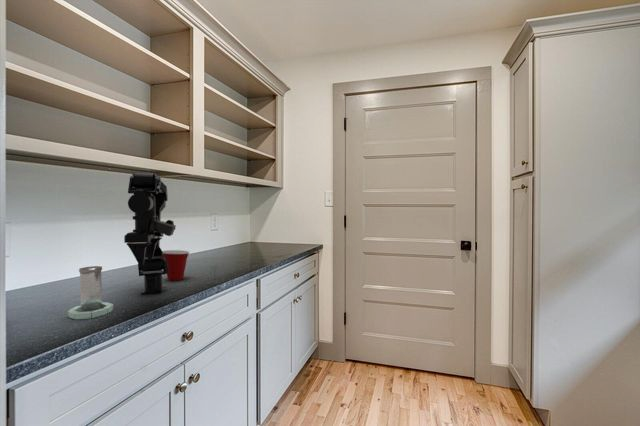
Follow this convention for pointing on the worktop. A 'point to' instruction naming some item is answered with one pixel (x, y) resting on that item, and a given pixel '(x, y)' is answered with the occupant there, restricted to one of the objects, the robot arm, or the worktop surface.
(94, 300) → the glass jar
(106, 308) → the collar ring
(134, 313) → the worktop surface
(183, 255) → the plastic cup
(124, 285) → the worktop surface
